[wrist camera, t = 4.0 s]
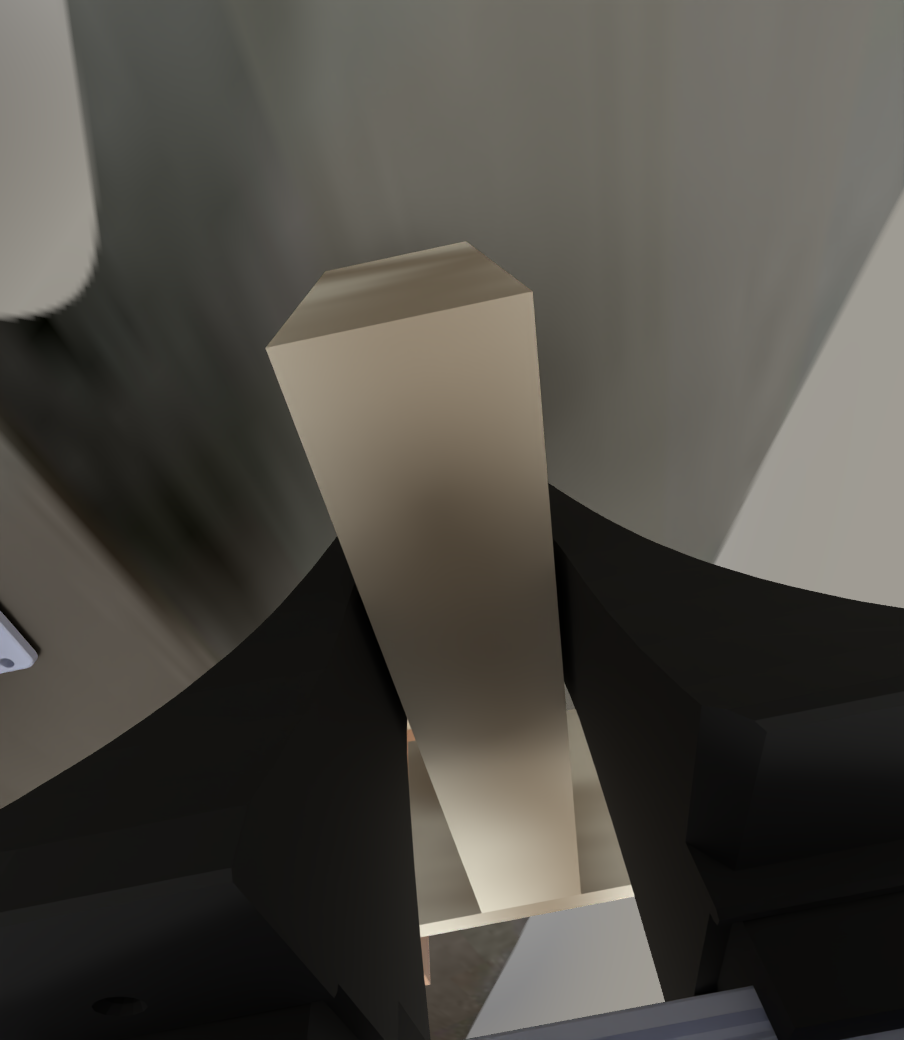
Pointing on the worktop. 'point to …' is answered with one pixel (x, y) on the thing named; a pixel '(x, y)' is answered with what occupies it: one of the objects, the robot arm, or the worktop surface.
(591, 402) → the worktop surface
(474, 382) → the tall cream square post
